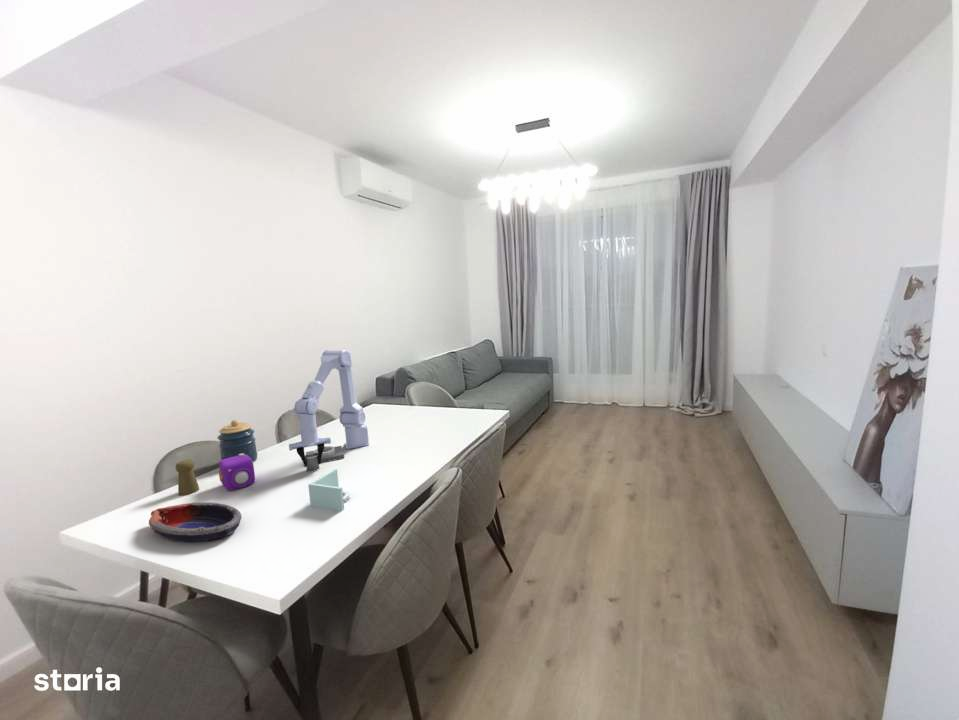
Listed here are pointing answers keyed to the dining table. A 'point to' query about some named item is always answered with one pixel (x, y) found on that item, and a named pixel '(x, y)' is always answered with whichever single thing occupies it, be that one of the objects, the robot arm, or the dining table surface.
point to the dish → (195, 521)
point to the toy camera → (236, 472)
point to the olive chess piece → (186, 478)
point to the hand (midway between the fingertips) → (312, 464)
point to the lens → (312, 461)
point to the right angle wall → (328, 492)
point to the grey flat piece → (330, 453)
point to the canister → (237, 440)
